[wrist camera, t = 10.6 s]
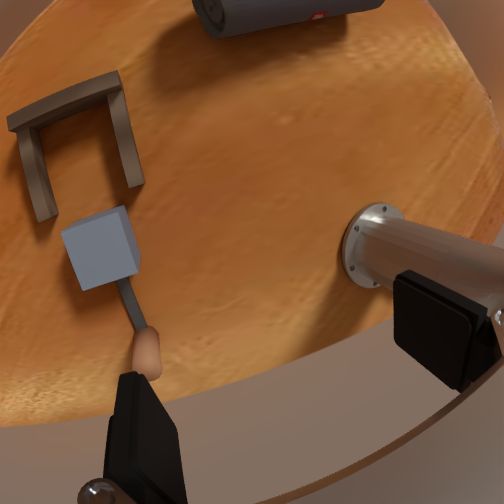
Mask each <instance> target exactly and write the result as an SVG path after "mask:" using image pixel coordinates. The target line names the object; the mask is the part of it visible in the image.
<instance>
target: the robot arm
mask: <svg viewBox="0 0 504 504" xmlns="http://www.w3.org/2000/svg"><path fill="white" fill-rule="evenodd" d="M342 262H343V266H344V269H345V271H346V274H347V275H348V277H349V278H350V279H351V280H352V281H353V282H354V283H356V284H358V285H359V286H361V287H365V288H376V287H379V286H383V287H385V288H387V289H389V290H391V291H392V292H393V305H394V341H395V343H396V344H397V345H398V346H399V347H400V348H401V349H403V350H404V351H405V352H406V353H408V354H409V355H410V356H411V357H413V358H414V359H415V360H416V361H418V362H419V363H420V364H421V365H423V366H424V367H425V368H426V369H427V370H429V371H430V372H431V373H432V374H434V375H435V376H436V377H437V378H438V379H440V380H441V381H442V382H443V383H444V384H446V385H447V386H449V388H451V389H456V390H457V391H458V392H459V393H461V394H460V395H458V396H457V397H456V398H455V399H453V400H452V401H451V402H450V403H448V404H447V405H446V406H444V407H443V408H442V409H440V410H439V411H438V412H436V413H435V414H434V415H432V416H431V417H429V418H428V419H427V420H425V421H424V422H422V423H421V424H419V425H418V426H416V427H415V428H413V429H412V430H410V431H409V432H407V433H406V434H404V435H403V436H401V437H400V438H398V439H396V440H395V441H393V442H391V443H390V444H388V445H386V446H385V447H383V448H381V449H380V450H378V451H376V452H374V453H372V454H371V455H369V456H367V457H365V458H363V459H361V460H359V461H358V462H356V463H354V464H352V465H350V466H348V467H346V468H344V469H342V470H340V471H337V472H335V473H333V474H331V475H329V476H327V477H324V478H322V479H320V480H318V481H315V482H313V483H311V484H308V485H306V486H303V487H301V488H298V489H296V490H293V491H290V492H288V493H285V494H282V495H279V496H277V497H274V498H271V499H268V500H265V501H261V502H259V503H255V504H504V249H502V248H499V247H495V246H492V245H488V244H485V243H482V242H478V241H475V240H472V239H469V238H466V237H463V236H460V235H456V234H453V233H450V232H446V231H443V230H439V229H436V228H433V227H429V226H426V225H422V224H418V223H415V222H411V221H408V220H405V218H404V216H403V214H402V213H401V212H400V210H398V209H397V208H396V207H395V206H392V205H390V204H386V203H374V204H371V205H368V206H367V207H365V208H363V209H362V210H361V211H360V212H358V213H357V215H356V216H355V217H354V218H353V219H352V221H351V223H350V224H349V226H348V228H347V231H346V233H345V236H344V240H343V244H342ZM77 502H78V504H188V502H187V497H186V490H185V484H184V477H183V470H182V463H181V455H180V448H179V439H178V432H177V429H176V426H175V424H174V423H173V421H172V419H171V418H170V417H169V415H168V413H167V412H166V410H165V409H164V407H163V405H162V404H161V402H160V401H159V399H158V397H157V396H156V394H155V392H154V391H153V389H152V387H151V386H150V384H149V382H148V380H147V379H146V377H145V375H144V374H138V372H137V371H132V372H129V373H125V374H121V375H120V376H119V382H118V388H117V394H116V401H115V408H114V415H112V416H111V417H110V420H109V425H108V433H107V441H106V450H105V460H104V471H103V478H97V479H93V480H91V481H89V482H87V483H86V484H85V485H84V486H83V487H82V488H81V490H80V492H79V493H78V498H77Z"/></svg>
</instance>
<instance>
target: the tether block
mask: <svg viewBox="0 0 504 504" xmlns="http://www.w3.org/2000/svg"><path fill="white" fill-rule="evenodd" d="M61 235H62V238H63V241H64V244H65V247H66V249H67V252H68V255H69V258H70V260H71V263H72V266H73V268H74V271H75V273H76V276H77V278H78V281H79V283H80V286H81V288H82V290H83V291H84V290H87V289H90V288H93V287H97V286H100V285H103V284H106V283H109V282H112V281H115V280H116V283H117V286H118V288H119V291H120V293H121V295H122V298H123V300H124V303H125V305H126V308H127V310H128V312H129V315H130V317H131V319H132V321H133V324H134V326H135V328H136V331H135V333H134V343H133V361H132V371H137V372H138V374H144V375H145V377H146V379H147V380H148V381H154V380H156V379H158V378H159V377H160V375H161V373H162V365H161V355H160V343H159V334H158V332H157V330H156V329H155V328H153V327H151V326H147V324H146V321H145V319H144V317H143V314H142V312H141V309H140V307H139V304H138V302H137V300H136V297H135V295H134V292H133V289H132V287H131V284H130V282H129V279H128V276H130V275H133V274H137V273H138V271H139V264H140V257H141V255H140V252H139V249H138V246H137V243H136V240H135V237H134V233H133V230H132V227H131V224H130V221H129V217H128V214H127V211H126V207H125V204H124V205H121V206H118V207H115V208H112V209H110V210H107V211H104V212H101V213H98V214H95V215H92V216H90V217H87V218H84V219H81V220H79V221H76V222H75V223H73V224H72V225H70V226H69V227H68V228H66V229H65V230H63V231H62V232H61Z"/></svg>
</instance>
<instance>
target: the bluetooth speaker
mask: <svg viewBox="0 0 504 504" xmlns="http://www.w3.org/2000/svg"><path fill="white" fill-rule="evenodd" d="M384 1H385V0H192V3H193V7H194V9H195V12H196V13H197V15H198V17H199V18H200V20H201V22H202V23H203V25H204V27H205V30H206V32H207V33H208V34H209V35H210V36H211V37H213V38H215V39H221V38H227V37H232V36H237V35H242V34H246V33H250V32H254V31H259V30H264V29H268V28H273V27H278V26H283V25H288V24H293V23H298V22H304V21H309V20H315V19H321V18H326V17H332V16H338V15H344V14H350V13H356V12H363V11H368V10H372V9H375V8H378V7H380V6H381V5H382V4H383V2H384Z"/></svg>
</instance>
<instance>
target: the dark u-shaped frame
mask: <svg viewBox="0 0 504 504" xmlns="http://www.w3.org/2000/svg"><path fill="white" fill-rule="evenodd" d="M106 102H108V103H109V108H110V113H111V118H112V123H113V127H114V132H115V136H116V140H117V144H118V149H119V153H120V157H121V161H122V165H123V168H124V172H125V176H126V180H127V183H128V187H129V188H132V187H135V186H138V185H141V184H144V183H145V179H144V175H143V172H142V168H141V164H140V160H139V156H138V152H137V148H136V144H135V140H134V136H133V132H132V127H131V123H130V118H129V114H128V109H127V105H126V100H125V95H124V90H123V85H122V82H121V79H120V76H119V74H118V71H117V70H116V71H113V72H109V73H106V74H103V75H100V76H98V77H95V78H92V79H89V80H86V81H84V82H81V83H78V84H76V85H73V86H71V87H68V88H66V89H63V90H61V91H59V92H56V93H54V94H52V95H49V96H47V97H45V98H43V99H41V100H38V101H36V102H34V103H32V104H30V105H28V106H26V107H24V108H22V109H20V110H18V111H16V112H14V113H13V114H11V115H9V116H7V124H8V131H10V132H15V133H17V139H18V145H19V150H20V155H21V160H22V164H23V169H24V173H25V177H26V182H27V186H28V189H29V193H30V197H31V200H32V204H33V207H34V211H35V214H36V217H37V221H38V223H39V222H42V221H44V220H46V219H49V218H51V217H53V216H55V215H57V214H59V212H58V209H57V206H56V202H55V199H54V195H53V192H52V188H51V184H50V181H49V177H48V173H47V168H46V164H45V160H44V155H43V151H42V146H41V141H40V136H39V129H41V128H43V127H45V126H48V125H50V124H52V123H54V122H57V121H59V120H61V119H64V118H66V117H69V116H71V115H74V114H76V113H79V112H81V111H84V110H87V109H89V108H92V107H95V106H98V105H101V104H103V103H106Z"/></svg>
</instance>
